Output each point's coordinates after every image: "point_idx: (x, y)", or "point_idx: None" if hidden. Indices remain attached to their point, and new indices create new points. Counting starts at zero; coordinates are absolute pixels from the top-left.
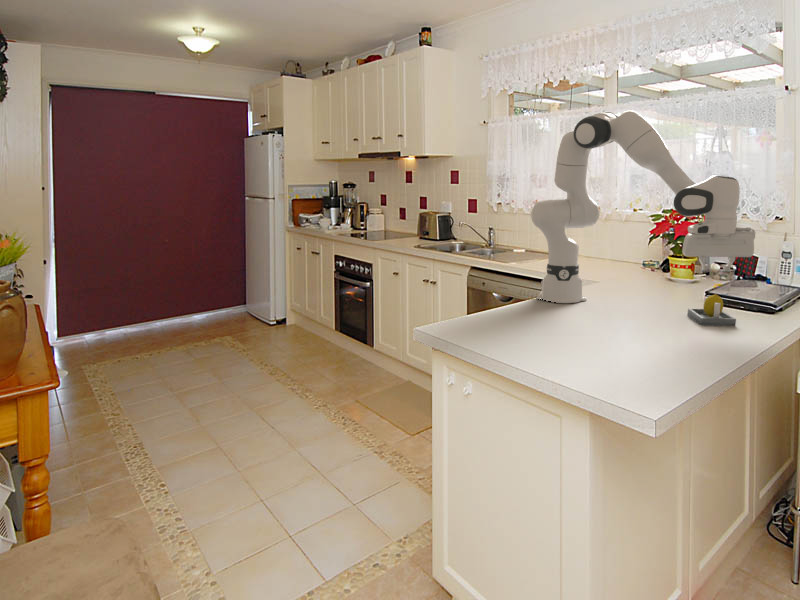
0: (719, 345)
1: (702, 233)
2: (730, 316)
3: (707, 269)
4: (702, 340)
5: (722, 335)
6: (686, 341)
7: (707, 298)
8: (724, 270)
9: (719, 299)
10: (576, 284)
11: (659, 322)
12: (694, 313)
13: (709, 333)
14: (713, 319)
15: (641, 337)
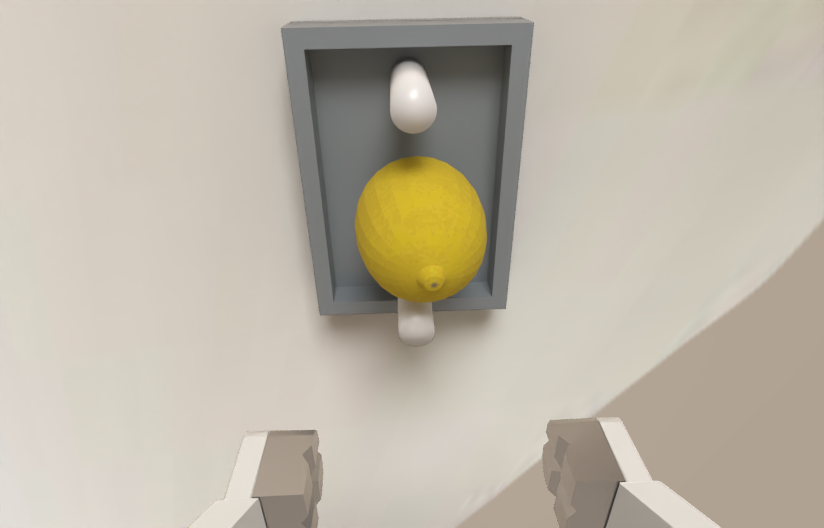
0: (331, 518)
1: None
2: (503, 252)
3: (314, 489)
4: None
5: (380, 419)
6: None
7: (370, 259)
8: (544, 454)
9: (447, 296)
10: None
11: (105, 250)
12: (303, 191)
13: (334, 401)
14: (385, 309)
15: (59, 484)
